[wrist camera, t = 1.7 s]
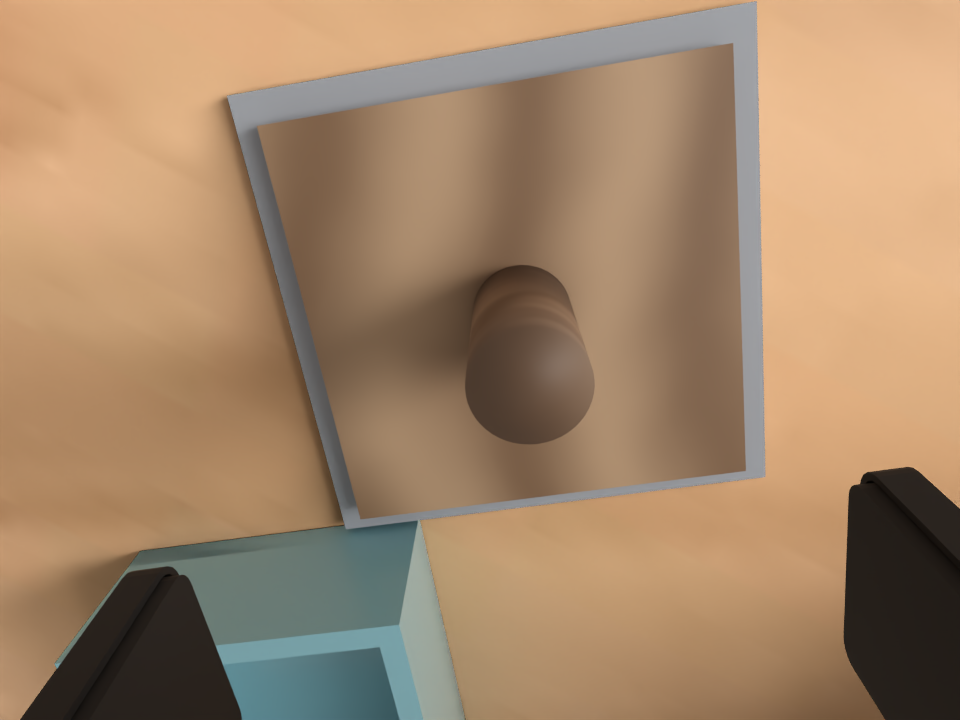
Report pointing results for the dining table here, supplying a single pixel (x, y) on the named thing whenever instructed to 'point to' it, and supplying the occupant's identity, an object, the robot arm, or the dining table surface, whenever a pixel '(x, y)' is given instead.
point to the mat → (501, 68)
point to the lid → (524, 282)
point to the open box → (322, 622)
